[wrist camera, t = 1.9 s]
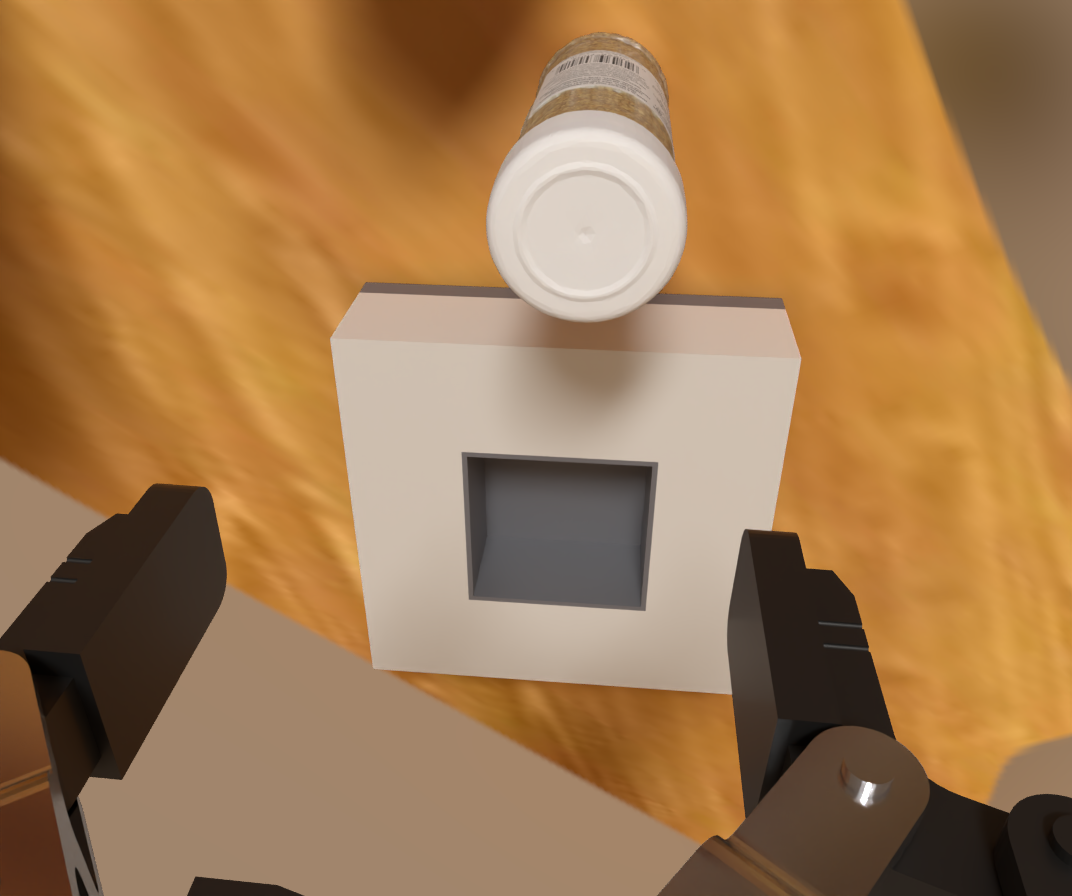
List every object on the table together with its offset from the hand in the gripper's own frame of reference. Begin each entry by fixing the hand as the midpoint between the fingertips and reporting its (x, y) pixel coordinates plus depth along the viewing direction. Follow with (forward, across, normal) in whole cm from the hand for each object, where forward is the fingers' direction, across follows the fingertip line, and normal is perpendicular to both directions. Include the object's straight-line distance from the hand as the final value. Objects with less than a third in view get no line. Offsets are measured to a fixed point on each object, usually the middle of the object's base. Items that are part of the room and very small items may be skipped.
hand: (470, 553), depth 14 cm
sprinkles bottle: (+23, -1, -2) cm, 23 cm away
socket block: (+22, 0, +13) cm, 26 cm away
